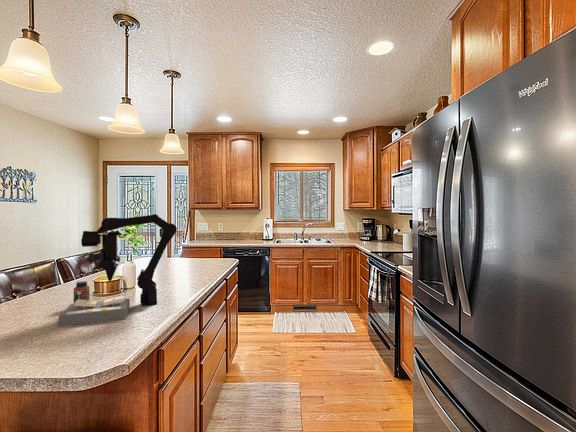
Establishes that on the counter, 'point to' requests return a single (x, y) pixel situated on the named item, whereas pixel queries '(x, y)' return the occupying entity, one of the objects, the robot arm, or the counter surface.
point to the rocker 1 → (85, 303)
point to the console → (94, 313)
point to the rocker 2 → (113, 300)
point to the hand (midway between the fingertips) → (109, 280)
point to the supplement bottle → (81, 291)
